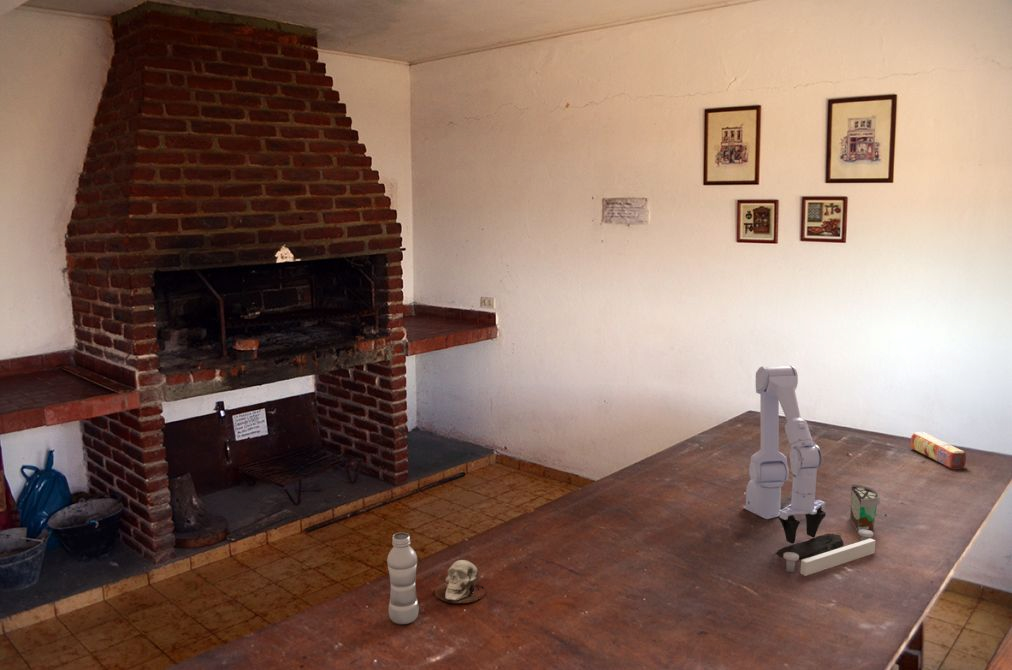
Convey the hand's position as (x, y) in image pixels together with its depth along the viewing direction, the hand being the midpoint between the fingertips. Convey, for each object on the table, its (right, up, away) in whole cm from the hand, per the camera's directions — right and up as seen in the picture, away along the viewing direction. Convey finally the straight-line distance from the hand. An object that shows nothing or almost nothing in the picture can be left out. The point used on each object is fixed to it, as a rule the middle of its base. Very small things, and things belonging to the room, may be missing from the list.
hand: (800, 538), depth 208 cm
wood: (+2, -3, -3) cm, 5 cm away
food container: (+22, +1, +11) cm, 25 cm away
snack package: (+71, +11, +63) cm, 95 cm away
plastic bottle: (-101, -10, -34) cm, 107 cm away
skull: (-89, -7, -22) cm, 92 cm away
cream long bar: (+5, -3, -9) cm, 10 cm away
